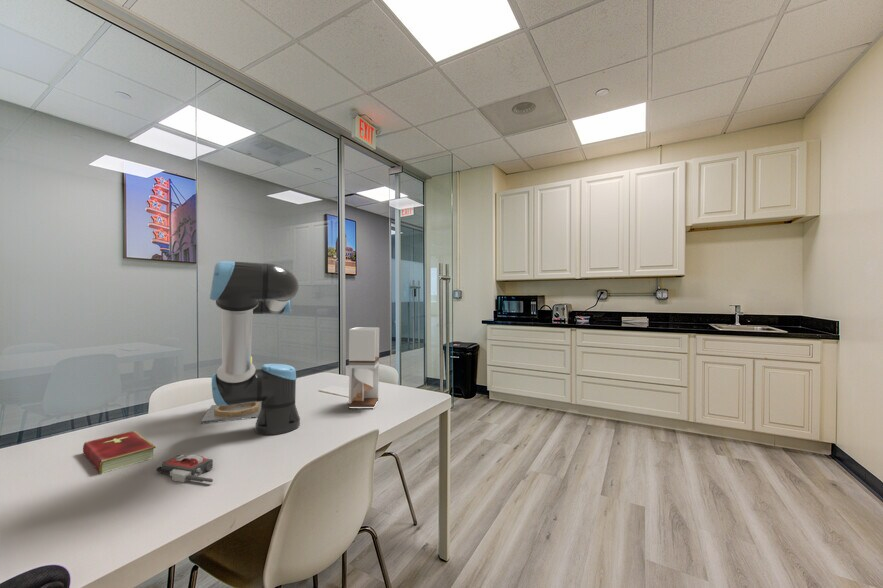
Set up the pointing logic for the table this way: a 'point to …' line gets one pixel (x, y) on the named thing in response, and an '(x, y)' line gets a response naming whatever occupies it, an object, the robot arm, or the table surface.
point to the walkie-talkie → (186, 468)
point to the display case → (363, 366)
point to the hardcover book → (118, 451)
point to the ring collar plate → (232, 412)
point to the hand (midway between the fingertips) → (238, 379)
